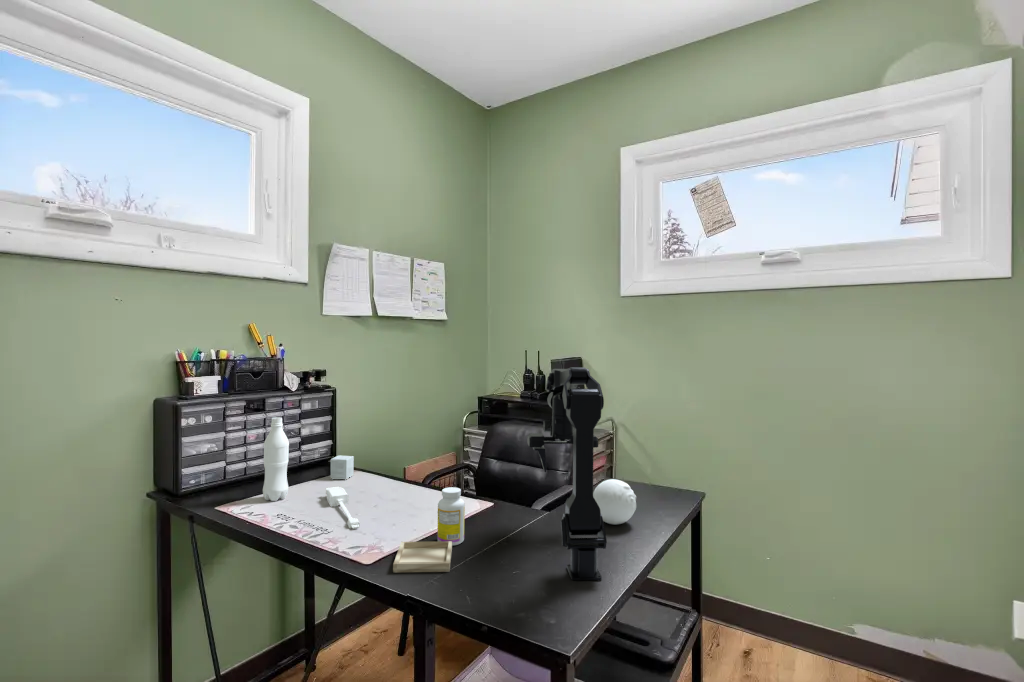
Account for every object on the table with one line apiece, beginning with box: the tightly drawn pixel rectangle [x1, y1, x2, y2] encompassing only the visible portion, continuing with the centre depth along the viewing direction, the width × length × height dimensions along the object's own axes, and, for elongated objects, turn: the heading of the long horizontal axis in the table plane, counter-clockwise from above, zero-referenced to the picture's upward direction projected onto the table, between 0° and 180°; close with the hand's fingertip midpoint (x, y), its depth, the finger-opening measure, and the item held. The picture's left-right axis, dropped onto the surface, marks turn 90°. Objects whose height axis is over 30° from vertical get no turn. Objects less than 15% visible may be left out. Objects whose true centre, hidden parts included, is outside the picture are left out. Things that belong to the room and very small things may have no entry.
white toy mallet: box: [325, 486, 361, 530], centre depth 146 cm, size 5×32×3 cm, turn 30°
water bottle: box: [262, 416, 290, 502], centre depth 155 cm, size 7×7×25 cm
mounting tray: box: [392, 540, 453, 573], centre depth 114 cm, size 12×12×2 cm
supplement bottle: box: [437, 486, 466, 547], centre depth 125 cm, size 7×7×13 cm
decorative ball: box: [593, 478, 637, 525], centre depth 140 cm, size 12×12×12 cm
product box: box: [330, 454, 355, 480], centre depth 180 cm, size 6×6×7 cm
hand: (561, 471), depth 137 cm, fingers open, 9 cm apart
